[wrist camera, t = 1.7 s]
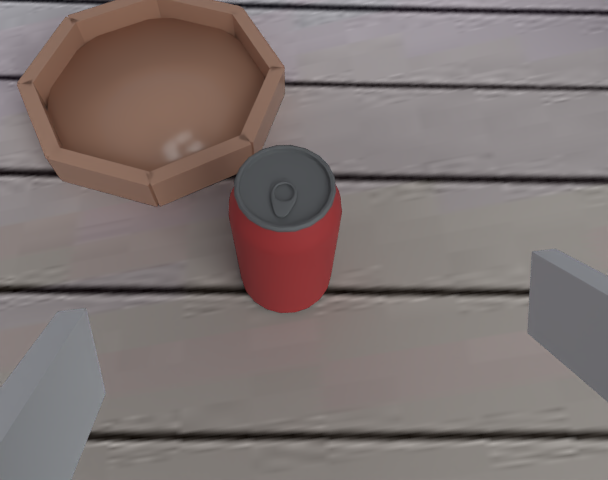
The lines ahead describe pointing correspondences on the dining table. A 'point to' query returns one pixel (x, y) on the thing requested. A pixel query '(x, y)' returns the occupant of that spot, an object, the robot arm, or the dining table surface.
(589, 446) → the dining table surface
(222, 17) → the terracotta saucer
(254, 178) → the beer can
